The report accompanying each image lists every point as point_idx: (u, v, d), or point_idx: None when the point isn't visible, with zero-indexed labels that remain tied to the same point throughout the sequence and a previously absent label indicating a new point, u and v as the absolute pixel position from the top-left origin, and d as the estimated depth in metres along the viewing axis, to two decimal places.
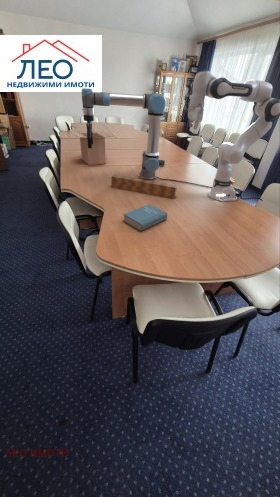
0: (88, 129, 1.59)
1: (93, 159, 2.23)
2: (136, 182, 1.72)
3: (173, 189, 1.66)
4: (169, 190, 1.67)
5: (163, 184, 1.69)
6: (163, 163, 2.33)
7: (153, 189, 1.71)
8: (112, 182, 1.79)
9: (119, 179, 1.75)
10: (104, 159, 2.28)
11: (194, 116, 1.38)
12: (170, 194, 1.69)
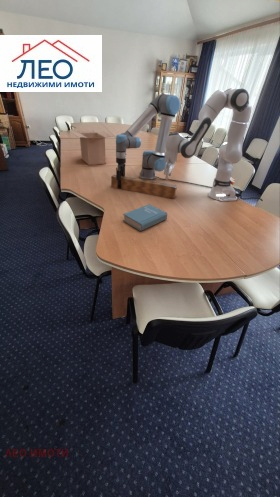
0: None
1: (93, 159, 2.23)
2: (136, 182, 1.72)
3: (173, 189, 1.66)
4: (169, 190, 1.67)
5: (163, 184, 1.69)
6: None
7: (153, 189, 1.71)
8: (112, 182, 1.79)
9: None
10: (104, 159, 2.28)
11: None
12: (170, 194, 1.69)
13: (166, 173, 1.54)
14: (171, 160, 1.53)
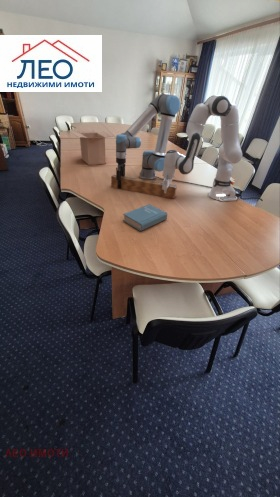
0: None
1: (93, 159, 2.23)
2: (136, 182, 1.72)
3: (173, 189, 1.66)
4: (169, 190, 1.67)
5: None
6: None
7: (153, 189, 1.71)
8: (112, 182, 1.79)
9: None
10: (104, 159, 2.28)
11: None
12: (170, 194, 1.69)
13: (164, 188, 1.60)
14: (169, 176, 1.60)
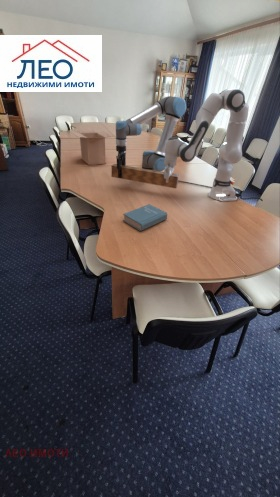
0: None
1: (93, 159, 2.23)
2: (137, 171, 1.67)
3: (175, 178, 1.61)
4: (171, 179, 1.62)
5: None
6: None
7: (155, 178, 1.66)
8: (112, 171, 1.74)
9: None
10: (104, 159, 2.28)
11: None
12: (172, 184, 1.64)
13: (166, 177, 1.55)
14: (171, 164, 1.55)
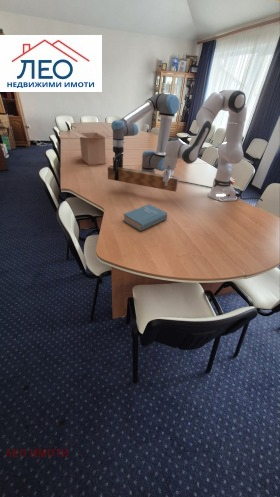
0: None
1: (93, 159, 2.23)
2: (135, 174, 1.58)
3: (175, 181, 1.52)
4: (170, 182, 1.54)
5: None
6: None
7: (153, 181, 1.57)
8: (109, 174, 1.65)
9: None
10: (104, 159, 2.28)
11: None
12: (171, 187, 1.55)
13: (165, 180, 1.47)
14: (170, 166, 1.46)
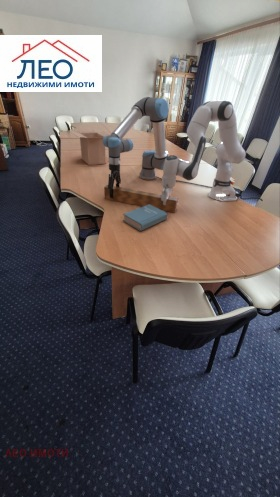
0: None
1: (93, 159, 2.23)
2: (133, 194, 1.53)
3: (174, 202, 1.47)
4: (169, 203, 1.48)
5: None
6: None
7: (151, 202, 1.52)
8: (105, 193, 1.59)
9: (113, 190, 1.56)
10: (104, 159, 2.28)
11: None
12: (170, 208, 1.50)
13: (163, 199, 1.40)
14: (169, 185, 1.40)
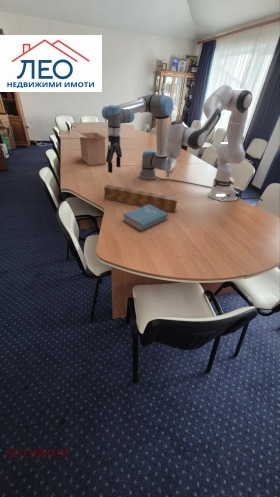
0: None
1: (93, 159, 2.23)
2: (133, 194, 1.53)
3: (174, 202, 1.47)
4: (169, 203, 1.48)
5: (162, 196, 1.50)
6: None
7: (151, 202, 1.52)
8: (105, 193, 1.59)
9: (113, 190, 1.56)
10: (104, 159, 2.28)
11: None
12: (170, 208, 1.50)
13: (167, 170, 1.29)
14: (173, 154, 1.29)
